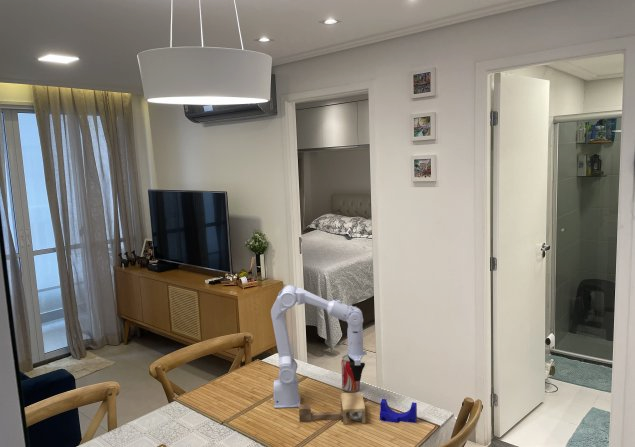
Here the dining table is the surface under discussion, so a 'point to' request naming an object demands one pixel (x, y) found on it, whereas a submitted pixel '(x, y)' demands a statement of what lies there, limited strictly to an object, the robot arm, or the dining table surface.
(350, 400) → the oak shelf
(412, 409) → the blue u-shaped cradle
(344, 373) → the soda can
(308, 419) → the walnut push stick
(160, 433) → the dining table surface
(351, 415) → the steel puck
